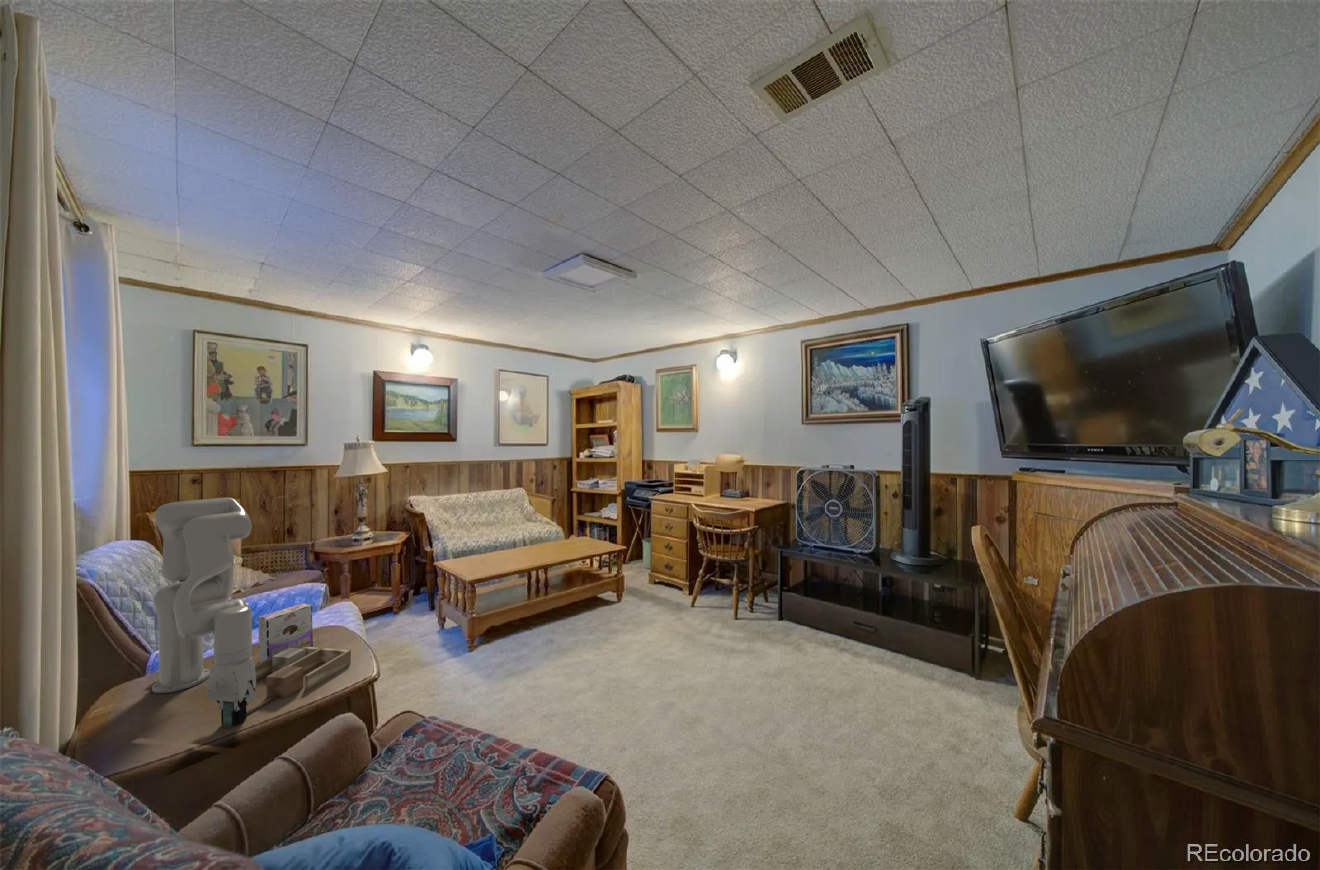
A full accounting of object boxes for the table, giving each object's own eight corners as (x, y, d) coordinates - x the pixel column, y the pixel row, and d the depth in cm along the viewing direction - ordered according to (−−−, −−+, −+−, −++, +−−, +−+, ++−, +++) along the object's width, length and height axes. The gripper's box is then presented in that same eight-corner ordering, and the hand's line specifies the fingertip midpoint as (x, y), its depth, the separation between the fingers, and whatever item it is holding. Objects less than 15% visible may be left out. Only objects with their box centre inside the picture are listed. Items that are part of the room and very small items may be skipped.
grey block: (272, 674, 147) (272, 656, 147) (289, 665, 153) (289, 647, 153) (288, 676, 146) (288, 657, 146) (305, 666, 152) (305, 648, 152)
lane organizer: (245, 686, 141) (245, 670, 141) (293, 660, 157) (293, 645, 157) (308, 692, 138) (307, 675, 138) (350, 665, 154) (350, 650, 154)
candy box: (304, 646, 167) (304, 601, 167) (313, 649, 165) (313, 604, 164) (258, 663, 155) (257, 615, 154) (267, 667, 152) (266, 618, 152)
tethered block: (215, 729, 121) (214, 703, 121) (286, 687, 140) (285, 664, 140) (234, 731, 120) (234, 705, 120) (303, 688, 139) (303, 666, 139)
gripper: (191, 659, 120) (192, 728, 120) (244, 664, 117) (245, 734, 118) (222, 645, 127) (223, 710, 127) (273, 650, 125) (273, 716, 125)
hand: (234, 721), depth 123 cm, fingers closed on tethered block, 2 cm apart
